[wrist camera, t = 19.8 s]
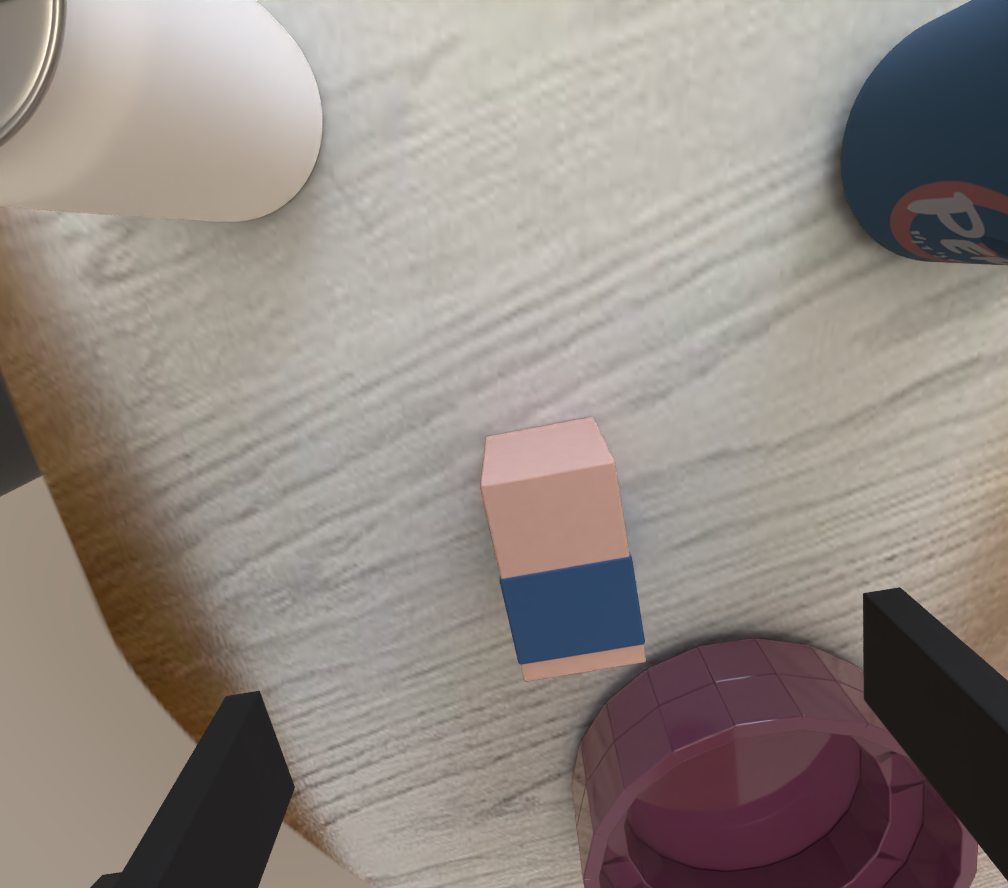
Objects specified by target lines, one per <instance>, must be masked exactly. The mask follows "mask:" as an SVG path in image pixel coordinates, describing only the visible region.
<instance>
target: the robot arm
mask: <svg viewBox="0 0 1008 888" xmlns="http://www.w3.org/2000/svg"><path fill="white" fill-rule="evenodd" d="M863 653H864V701H865V702H866V703H867V704H868V706H869V707H870V708H871V709H872V711H873V712H874V713H875V715H876V716H877V717H878V718H879V720H880V721H881V722H882V723H883V725H884V726H885V727H886V728H887V730H888V731H889V732H890V733H891V735H892V736H893V737H894V738H895V740H896V741H897V742H898V743H899V745H900V746H901V747H902V748H903V750H904V751H905V752H906V754H907V755H908V756H909V757H910V759H911V760H912V761H913V762H914V764H915V765H916V766H917V767H918V769H919V770H920V771H921V772H922V774H923V775H924V776H925V777H926V779H927V780H928V781H929V782H930V784H931V785H932V786H933V788H934V789H935V790H936V791H937V793H938V794H939V795H940V796H941V798H942V799H943V800H944V801H945V803H946V804H947V805H948V806H949V808H950V809H951V810H952V811H953V813H954V814H955V815H956V816H957V818H958V819H959V820H960V821H961V823H962V824H963V825H964V827H965V828H966V829H967V830H968V832H969V833H970V834H971V835H972V837H973V838H974V839H975V840H976V842H977V843H978V844H979V845H980V847H981V848H982V849H983V850H984V852H985V853H986V854H987V855H988V857H989V858H990V859H991V860H992V862H993V863H994V864H995V866H996V867H997V868H998V869H999V871H1000V872H1001V873H1002V874H1003V876H1004V877H1005V878H1006V879H1007V881H1008V681H1007V680H1006V679H1005V678H1004V677H1003V676H1002V675H1001V674H999V673H998V672H997V671H996V670H995V669H994V668H992V667H991V666H990V665H989V664H988V663H987V662H986V661H984V660H983V659H982V658H981V657H980V656H979V655H977V654H976V653H975V652H974V651H973V650H972V649H971V648H969V647H968V646H967V645H966V644H965V643H964V642H962V641H961V640H960V639H959V638H958V637H957V636H956V635H954V634H953V633H952V632H951V631H950V630H949V629H947V628H946V627H945V626H944V625H943V624H942V623H941V622H939V621H938V620H937V619H936V618H935V617H934V616H932V615H931V614H930V613H929V612H928V611H927V610H926V609H924V608H923V607H922V606H921V605H920V604H919V603H917V602H916V601H915V600H914V599H913V598H912V597H911V596H909V595H908V594H907V593H906V592H905V591H904V590H902V589H901V588H900V587H899V588H893V589H887V590H881V591H875V592H869V593H863ZM294 788H295V786H294V784H293V781H292V778H291V775H290V773H289V770H288V767H287V764H286V762H285V759H284V756H283V753H282V751H281V748H280V745H279V743H278V740H277V737H276V734H275V732H274V729H273V726H272V723H271V721H270V718H269V715H268V712H267V710H266V707H265V704H264V701H263V699H262V696H261V693H260V691H255V692H249V693H243V694H237V695H231V696H226V697H225V699H224V700H223V702H222V704H221V706H220V707H219V709H218V711H217V712H216V714H215V716H214V717H213V719H212V721H211V722H210V724H209V726H208V728H207V729H206V731H205V733H204V734H203V736H202V738H201V739H200V741H199V743H198V744H197V746H196V748H195V750H194V751H193V753H192V755H191V756H190V758H189V760H188V762H187V763H186V765H185V767H184V768H183V770H182V772H181V773H180V775H179V777H178V778H177V780H176V782H175V783H174V785H173V787H172V789H171V790H170V792H169V794H168V795H167V797H166V799H165V800H164V802H163V804H162V805H161V807H160V809H159V811H158V812H157V814H156V816H155V817H154V819H153V821H152V822H151V824H150V826H149V827H148V829H147V831H146V833H145V834H144V836H143V838H142V839H141V841H140V843H139V845H138V846H137V848H136V850H135V851H134V853H133V855H132V856H131V858H130V860H129V862H128V863H127V865H126V866H125V868H124V870H123V871H122V872H120V873H113V874H106V875H102V876H101V877H100V878H99V879H98V880H97V881H96V882H95V883H94V884H93V885H92V886H91V888H258V886H259V884H260V881H261V878H262V875H263V873H264V870H265V867H266V864H267V862H268V859H269V856H270V853H271V851H272V848H273V845H274V842H275V840H276V837H277V835H278V832H279V829H280V826H281V824H282V821H283V818H284V815H285V813H286V810H287V807H288V805H289V802H290V799H291V796H292V794H293V791H294Z"/></svg>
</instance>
